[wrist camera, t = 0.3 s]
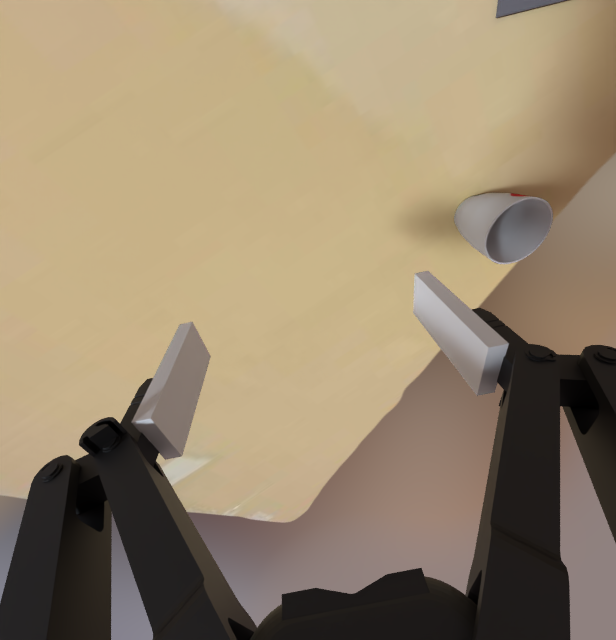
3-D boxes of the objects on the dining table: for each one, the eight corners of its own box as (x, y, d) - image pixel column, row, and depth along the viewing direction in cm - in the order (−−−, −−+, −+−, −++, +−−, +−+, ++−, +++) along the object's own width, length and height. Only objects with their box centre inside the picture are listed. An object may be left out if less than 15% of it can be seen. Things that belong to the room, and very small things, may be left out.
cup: (506, 210, 42) (562, 228, 34) (461, 250, 45) (502, 275, 37) (481, 171, 39) (536, 180, 31) (433, 217, 42) (472, 237, 34)
